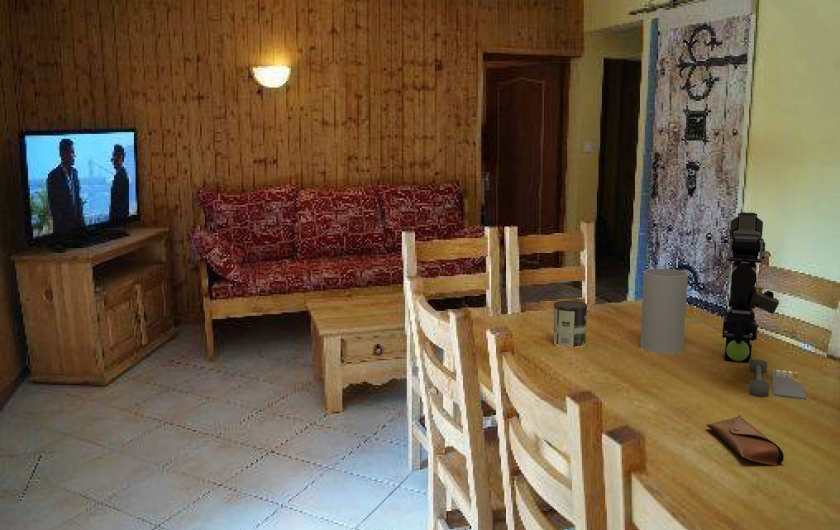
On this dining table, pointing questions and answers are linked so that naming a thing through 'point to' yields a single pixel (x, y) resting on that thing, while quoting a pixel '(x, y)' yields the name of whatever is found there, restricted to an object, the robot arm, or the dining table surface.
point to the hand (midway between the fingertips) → (738, 340)
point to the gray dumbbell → (758, 379)
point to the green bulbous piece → (737, 350)
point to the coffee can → (570, 323)
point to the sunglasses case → (748, 441)
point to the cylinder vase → (663, 310)
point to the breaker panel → (787, 385)
